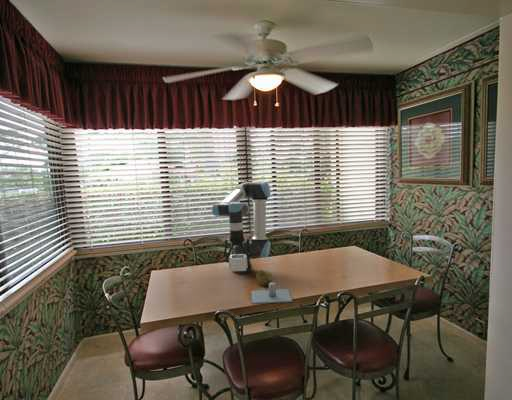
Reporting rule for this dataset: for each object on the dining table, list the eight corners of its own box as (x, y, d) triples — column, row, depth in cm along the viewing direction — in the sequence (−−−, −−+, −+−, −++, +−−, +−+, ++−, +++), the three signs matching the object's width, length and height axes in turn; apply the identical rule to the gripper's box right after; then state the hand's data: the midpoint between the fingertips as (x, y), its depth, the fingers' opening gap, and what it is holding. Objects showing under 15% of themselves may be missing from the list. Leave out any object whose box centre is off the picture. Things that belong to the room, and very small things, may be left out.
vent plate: (251, 291, 177) (251, 279, 176) (287, 289, 178) (287, 277, 177) (252, 303, 161) (251, 290, 160) (292, 301, 162) (291, 288, 161)
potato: (259, 288, 181) (259, 276, 180) (255, 281, 194) (255, 269, 193) (272, 287, 183) (272, 274, 182) (267, 279, 195) (267, 268, 194)
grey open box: (231, 266, 175) (230, 254, 174) (246, 265, 175) (245, 253, 174) (230, 271, 166) (229, 259, 165) (246, 270, 166) (245, 258, 165)
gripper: (216, 231, 164) (219, 270, 166) (255, 229, 164) (257, 268, 167) (217, 229, 171) (220, 266, 174) (255, 227, 172) (257, 264, 174)
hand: (238, 267), depth 170 cm, fingers closed on grey open box, 9 cm apart
